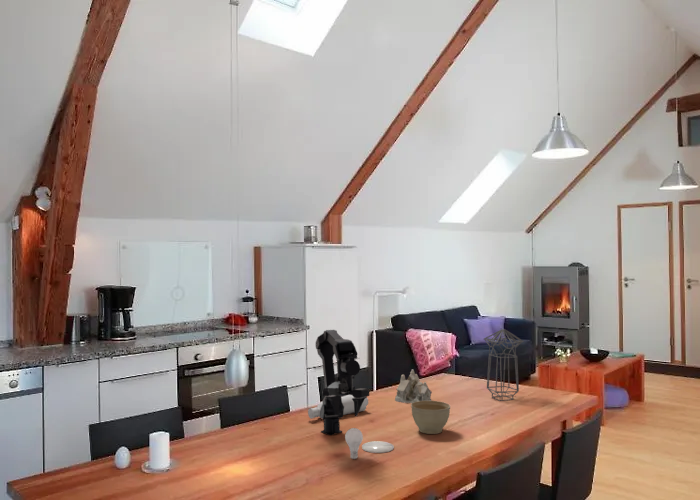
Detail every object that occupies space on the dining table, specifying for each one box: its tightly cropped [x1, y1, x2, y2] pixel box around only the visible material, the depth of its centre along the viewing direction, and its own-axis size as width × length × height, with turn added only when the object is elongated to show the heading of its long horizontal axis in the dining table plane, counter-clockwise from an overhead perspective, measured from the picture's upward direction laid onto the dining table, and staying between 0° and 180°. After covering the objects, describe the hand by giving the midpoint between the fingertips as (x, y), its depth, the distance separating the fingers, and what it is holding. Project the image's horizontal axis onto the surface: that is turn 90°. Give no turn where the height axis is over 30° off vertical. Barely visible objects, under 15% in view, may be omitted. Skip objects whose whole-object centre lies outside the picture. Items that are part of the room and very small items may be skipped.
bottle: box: [307, 395, 369, 419], centre depth 275 cm, size 9×9×30 cm
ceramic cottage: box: [394, 369, 433, 404], centre depth 302 cm, size 16×16×15 cm
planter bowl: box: [410, 400, 451, 435], centre depth 250 cm, size 16×16×11 cm
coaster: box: [361, 440, 394, 454], centre depth 229 cm, size 12×12×1 cm
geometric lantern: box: [483, 328, 525, 402], centre depth 305 cm, size 16×16×35 cm
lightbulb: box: [344, 427, 364, 460], centre depth 217 cm, size 6×6×11 cm
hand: (346, 415), depth 229 cm, fingers open, 9 cm apart
